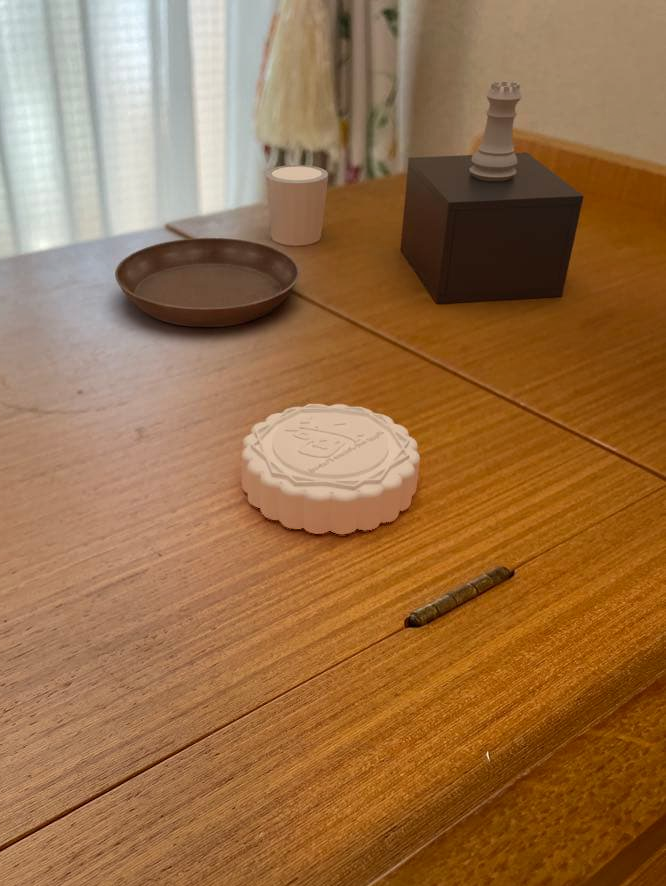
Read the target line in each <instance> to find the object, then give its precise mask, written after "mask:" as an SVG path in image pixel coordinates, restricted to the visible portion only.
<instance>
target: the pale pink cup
mask: <svg viewBox="0 0 666 886" xmlns="http://www.w3.org/2000/svg"><path fill="white" fill-rule="evenodd" d="M328 180H329V173H328V170H326V169H323V168H321V167H318V166H314V165H307V164H306V165H305V164H287V165H280V166H276V167H273V168H270V169H268V170H267V171H266V172H265V184H266V194H267V205H268V214H269V215H268V216H269V225H270V237H271V240H272V241H274V242H275V243H277V244H280V245H284V246H291V247H292V246H293V247H296V246H297V247H301V246H308V245H313V244H315V243H317V242H319V241H320V239H321V237H322V230H323V224H324V223H323V222H324V216H325V215H324V214H325V206H326V199H327V190H328V183H329V181H328Z"/></svg>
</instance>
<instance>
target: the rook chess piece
mask: <svg viewBox="0 0 666 886" xmlns="http://www.w3.org/2000/svg"><path fill="white" fill-rule="evenodd" d="M499 84H500V82H499V81H493V82H492V83H491V85H490V89H489V90H488V91H487V93H486V94H485V97H486V99H487V100H488V103H489V107H488V110H487V111H486V112H485V114H486V117H487V118H486V125H485V128H484V132H483V136H482V139H481V141H480V144H479V146H477V151H475V152H474V153H473V154H472V155H473V157H472V162H473V164H474V166H472V167H471V168H470V172H471V174H472V176H473V177H474V178H476V179H479V180H483V181H492V182H499V181H506V180H510V179H511V178H512V177H513V176H514V175H515V174H516V170H515V169H514V168H513V167H514V166H515V165H516V164H517V157H516V155H515V154H514V153H515V147H514V145H513V136H514V135H513V133H514V132H513V131H514V123H515V122H514V121H515V117H517V116H518V114H517V112H516V107H517V104H518V103H519V102H520V101H521V99H522V98H523V95H522V93H521V91H520V89H521V88H520V86H521V84H520V83H518V82H517V81H516V82H515V81H511V82H510V85H508V80H502V81H501V85H499Z"/></svg>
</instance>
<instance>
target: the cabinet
mask: <svg viewBox="0 0 666 886" xmlns="http://www.w3.org/2000/svg"><path fill="white" fill-rule="evenodd" d="M514 154H515V155H516V157H517V164H516V165H515V166H514V167H513V168H514V169H515V170H516V174H515V175H514V176H513V177H512V178H511V179H510V180H506V181H499V182H492V181H483V180H479V179H476V178H474V177H473V176H472V174H471V172H470V168H471V167H472V166H474V164H473V162H472V157H473V155H474V154H463V155H461V154H460V155H441V156H439V155H438V156H417V157H415V156H413V157H408V161H407V162H408V163H407V173H406V183H405V195H404V196H405V197H404V206H403V216H402V228H401V239H400V249H399V250H400V252H401V253H402V255H403V256H404V258H405V259H406V260H407V262H408V263H409V265H410V266H411V268H412V269H413V271H414V272H415V275H416V276H417V277H418V278H419V280H420V282H421V283H422V285H423V286H424V287H425V289H426V290H427V292H428V294H429V295H430V296H431V298H432V299H433V301H434V302H435V303H436V305H441V304H456V303H457V304H459V303H476V302H493V301H494V302H495V301H510V300H527V299H544V298H562V297H563V296H564V295H563V294H564V290H565V286H566V280H567V275H568V270H569V267H570V266H569V265H570V261H571V257H572V252H573V247H574V242H575V238H576V234H577V228H578V224H579V220H580V214H581V210H582V205H583V203H584V202H583V201H584V197H585V195H584V194H582V193H581V192H579V190H577V189H575V188H574V187H573V186H571V185H570V184H569V183H568V182H566V181H565V180H564V179H562V178H561V177H560V176H558V175H557V174H556V173H554V172H553V171H552V170H550V168H548V167H546V166H545V165H544V164H543V163H541V162H540V161H539V160H537V159H536V158H535V157H533V156H532V155H531V154H530V153H528V152H514Z"/></svg>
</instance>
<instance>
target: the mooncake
mask: <svg viewBox="0 0 666 886" xmlns="http://www.w3.org/2000/svg"><path fill="white" fill-rule="evenodd" d="M418 448H419V444H418V442H417V440H416V439H415V438H413V437H412V436H410V435H409V430H408V429H407V428H406V427H405V426H403V425H401V424H398V423H395V422H394V420H393V419H392V418H391V417H390V416H388V415H385V414H382V413H377V412H374V411H372V410H371V409H369V408H366V407H362V406H349V405H348V404H343V403H335V404H332V405H326V404H323V403H308V404H306V405H303V406H293V407H289V408H285V409H284V410H283V412H275V413H272V414H270V415H267V416H266V418H265V420H264V421H260V422H258V423H255V424H254V425H253V426H252V427H251V430H250V434H248V435H246V436H245V437H244V438H243V440H242V451H241V455H240V457H241V462H240V463H241V487H242V490H243V491H244V493H246V492H247V493H248V494H247V493H246V494H247V501H248V503H249V502H250V503H251V504H252V505H254V506H257V507H260V509H259V510H260V513H261V512H262V513H261V515H262V514H263V515H264V516H266V517H268V518H273V519H279V521H278V522H279V523H280V522H281V523H282V524H283V525H285V526H287V527H290V528H300V527H304V529H305V530H307V531H309V532H314V533H325V532H328V531H331V532H333V533H334V532H335V533H338V534H346V533H350V532H353V533H355V532H356V531H357V530H356V529H359V530H371V531H373V530H372V529H374V530H376V529H377V528H378V527H379V526H380V524H389V523H392V522H394V521H396V520H397V518H398V517H399V515H400V513H401V512H404V511H406V510H408V509H409V508H410V506H411V503H412V499H413V496H414V495H415V494H416V492H417V488H418V487H417V486H418V481H419V480H418V479H419V473H420V472H419V471H420V463H421V456H420V454H419V452H418ZM250 503H249V504H250ZM251 504H250V505H251ZM252 505H251V506H252ZM400 511H401V512H400ZM263 515H262V516H263ZM264 516H263V517H264ZM386 522H387V523H386ZM388 522H389V523H388ZM281 523H280V524H281ZM282 524H281V525H282ZM283 525H282V526H283ZM375 528H376V529H375ZM304 529H303V530H304ZM305 530H304V531H305ZM359 530H358V531H359ZM307 531H306V532H307ZM331 532H330V533H331ZM328 533H329V532H328ZM333 533H332V534H333Z"/></svg>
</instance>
